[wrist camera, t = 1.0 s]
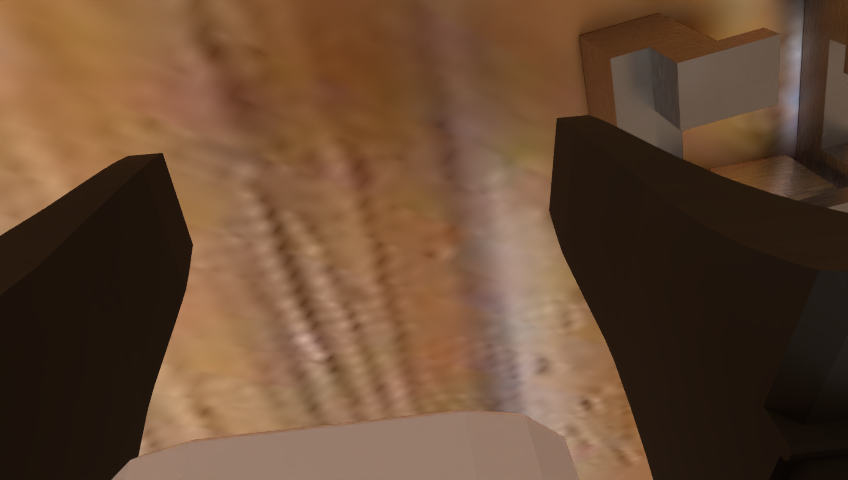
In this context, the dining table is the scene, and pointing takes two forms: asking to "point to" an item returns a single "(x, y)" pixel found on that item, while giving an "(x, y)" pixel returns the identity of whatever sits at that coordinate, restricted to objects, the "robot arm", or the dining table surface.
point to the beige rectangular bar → (777, 177)
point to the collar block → (724, 84)
